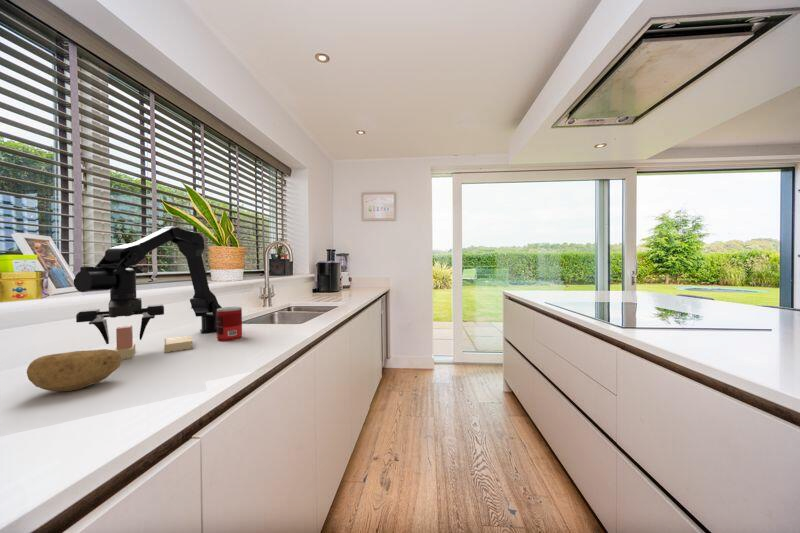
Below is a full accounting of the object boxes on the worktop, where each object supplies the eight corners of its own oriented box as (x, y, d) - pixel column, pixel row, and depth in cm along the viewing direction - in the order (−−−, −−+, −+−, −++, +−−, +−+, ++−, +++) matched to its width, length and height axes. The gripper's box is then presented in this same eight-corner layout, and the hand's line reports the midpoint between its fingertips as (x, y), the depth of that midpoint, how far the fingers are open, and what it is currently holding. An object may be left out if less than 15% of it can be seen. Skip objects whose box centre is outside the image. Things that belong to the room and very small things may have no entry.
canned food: (246, 336, 111) (246, 306, 111) (232, 341, 103) (232, 309, 103) (227, 336, 112) (226, 306, 112) (212, 341, 104) (211, 309, 104)
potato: (119, 386, 64) (118, 349, 64) (17, 405, 56) (16, 363, 56) (125, 374, 72) (125, 341, 72) (37, 389, 64) (36, 352, 64)
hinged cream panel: (164, 346, 98) (164, 338, 98) (190, 342, 103) (190, 334, 103) (164, 352, 90) (164, 344, 90) (192, 348, 95) (192, 340, 95)
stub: (117, 352, 91) (117, 325, 91) (135, 350, 94) (134, 323, 94) (113, 360, 83) (112, 330, 83) (132, 357, 86) (132, 328, 86)
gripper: (70, 293, 76) (71, 353, 76) (163, 288, 88) (164, 341, 88) (80, 290, 85) (81, 345, 85) (163, 287, 97) (164, 335, 97)
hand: (124, 341), depth 89 cm, fingers open, 7 cm apart
